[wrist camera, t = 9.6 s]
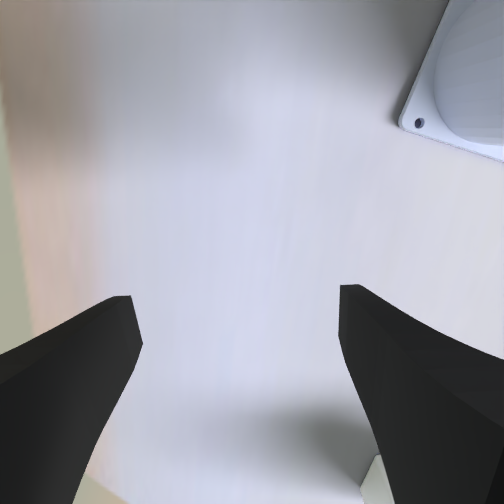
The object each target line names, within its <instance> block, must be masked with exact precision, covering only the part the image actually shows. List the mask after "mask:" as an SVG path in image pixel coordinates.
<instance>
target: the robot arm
mask: <svg viewBox="0 0 504 504" xmlns="http://www.w3.org/2000/svg"><path fill="white" fill-rule="evenodd" d="M418 118H419V119H420V120H421V125H420V126H419V127H418V128H416V127H415V125H414V123H415V121H416V119H418ZM398 123H399V127H400V128H401V129H402V130H405V131H408V132H411V133H414V134H417V135H420V136H423V137H426V138H429V139H433V140H436V141H439V142H442V143H445V144H448V145H451V146H454V147H457V148H461V149H464V150H467V151H470V152H473V153H476V154H479V155H482V156H485V157H488V158H492V159H495V160H498V161H501V162H504V0H450V1H449V3H448V5H447V8H446V10H445V12H444V15H443V17H442V19H441V22H440V24H439V26H438V29H437V31H436V33H435V36H434V38H433V40H432V43H431V45H430V47H429V50H428V52H427V54H426V57H425V59H424V61H423V64H422V66H421V68H420V71H419V73H418V75H417V78H416V80H415V82H414V85H413V87H412V89H411V91H410V94H409V96H408V98H407V101H406V103H405V105H404V108H403V110H402V112H401V115H400V117H399V121H398ZM338 336H339V340H340V344H341V348H342V352H343V356H344V360H345V363H346V366H347V368H348V371H349V373H350V376H351V378H352V381H353V383H354V386H355V388H356V390H357V393H358V395H359V398H360V400H361V403H362V405H363V408H364V410H365V412H366V415H367V417H368V420H369V422H370V425H371V427H372V430H373V433H374V436H375V438H376V441H377V445H378V448H379V451H380V455H381V458H382V461H383V465H384V468H385V471H386V475H387V478H388V482H389V485H390V489H391V492H392V496H393V499H394V503H395V504H504V360H503V359H500V358H498V357H495V356H492V355H490V354H487V353H485V352H482V351H480V350H477V349H475V348H473V347H470V346H468V345H466V344H464V343H462V342H459V341H457V340H455V339H453V338H451V337H449V336H446V335H444V334H442V333H440V332H438V331H436V330H434V329H433V328H431V327H429V326H427V325H425V324H423V323H422V322H420V321H418V320H416V319H414V318H413V317H411V316H409V315H408V314H406V313H404V312H403V311H401V310H399V309H398V308H396V307H394V306H393V305H391V304H390V303H388V302H387V301H385V300H383V299H382V298H380V297H379V296H377V295H376V294H374V293H373V292H371V291H369V290H368V289H366V288H365V287H363V286H361V285H359V284H354V285H340V305H339V332H338ZM142 345H143V342H142V338H141V334H140V330H139V326H138V322H137V318H136V314H135V310H134V306H133V302H132V298H131V296H114V297H111V298H109V299H106V300H104V301H102V302H100V303H98V304H96V305H95V306H93V307H91V308H89V309H87V310H85V311H84V312H82V313H80V314H78V315H76V316H75V317H73V318H71V319H69V320H67V321H66V322H64V323H62V324H60V325H58V326H57V327H55V328H53V329H51V330H49V331H47V332H45V333H43V334H41V335H39V336H37V337H35V338H34V339H32V340H30V341H28V342H26V343H24V344H22V345H20V346H18V347H16V348H14V349H11V350H9V351H8V352H5V353H3V354H1V355H0V504H72V503H73V500H74V498H75V495H76V492H77V490H78V487H79V484H80V482H81V479H82V477H83V474H84V472H85V469H86V467H87V464H88V462H89V459H90V457H91V455H92V452H93V450H94V447H95V445H96V443H97V441H98V439H99V437H100V434H101V432H102V430H103V428H104V427H105V425H106V423H107V421H108V419H109V417H110V415H111V413H112V411H113V409H114V407H115V405H116V404H117V402H118V400H119V398H120V396H121V394H122V392H123V390H124V388H125V386H126V384H127V382H128V380H129V378H130V377H131V374H132V372H133V370H134V368H135V365H136V363H137V360H138V357H139V354H140V351H141V348H142Z"/></svg>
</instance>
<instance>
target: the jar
mask: <svg viewBox="0 0 504 504" xmlns="http://www.w3.org/2000/svg"><path fill="white" fill-rule="evenodd" d="M360 491H361V494H362V498H363V502H364V504H395V503H394V499H393V496H392V492H391V489H390V485H389V482H388V478H387V475H386V471H385V468H384V465H383V461H382V458H381V455H380V454H379V455H376V456H375V458H374V460H373V462H372V464H371V466H370V468H369V471H368V473H367V475H366V477H365V479H364V481H363V483H362V485H361V487H360Z"/></svg>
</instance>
